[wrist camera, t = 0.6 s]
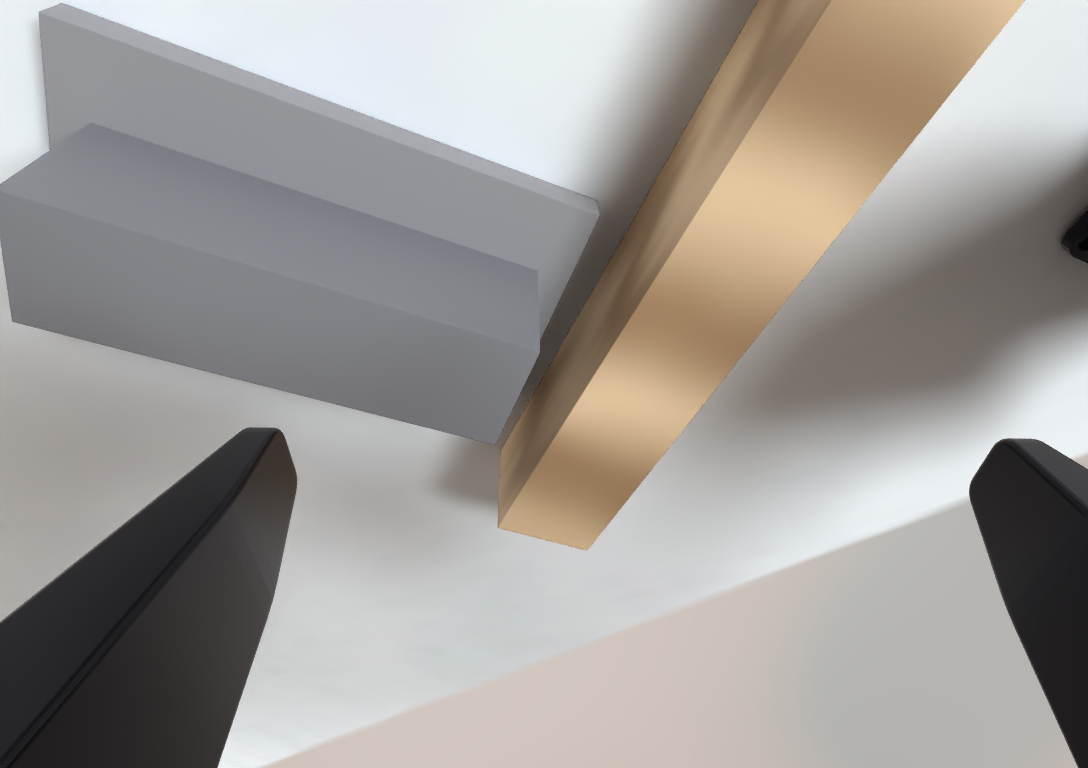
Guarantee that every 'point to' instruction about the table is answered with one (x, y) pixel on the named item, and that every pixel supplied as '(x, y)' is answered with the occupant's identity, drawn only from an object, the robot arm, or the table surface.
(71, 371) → the table surface
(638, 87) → the table surface
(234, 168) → the grey stepped block
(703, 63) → the table surface
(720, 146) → the beam
